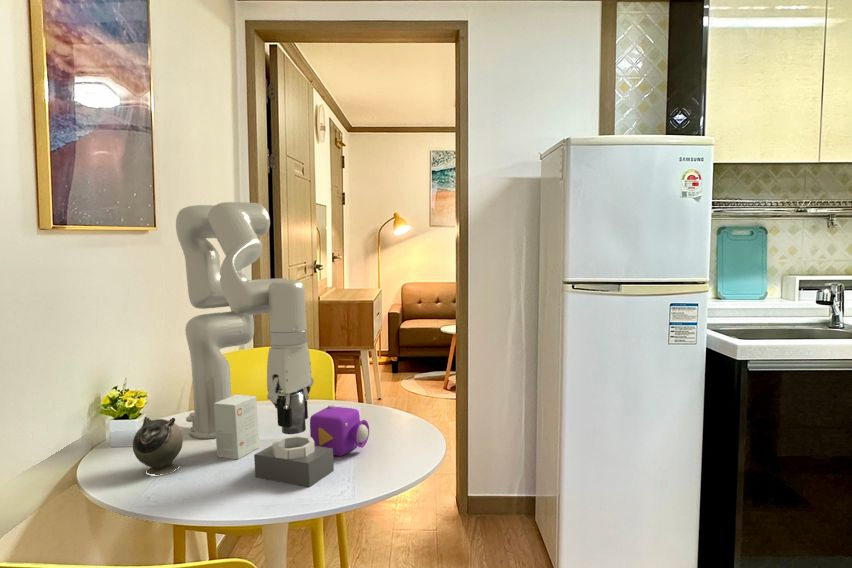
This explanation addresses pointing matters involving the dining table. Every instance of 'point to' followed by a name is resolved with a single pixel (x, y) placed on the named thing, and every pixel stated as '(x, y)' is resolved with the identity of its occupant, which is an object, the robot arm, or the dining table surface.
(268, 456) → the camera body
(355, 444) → the toy camera
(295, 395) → the lens
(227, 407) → the small box
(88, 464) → the dining table surface
